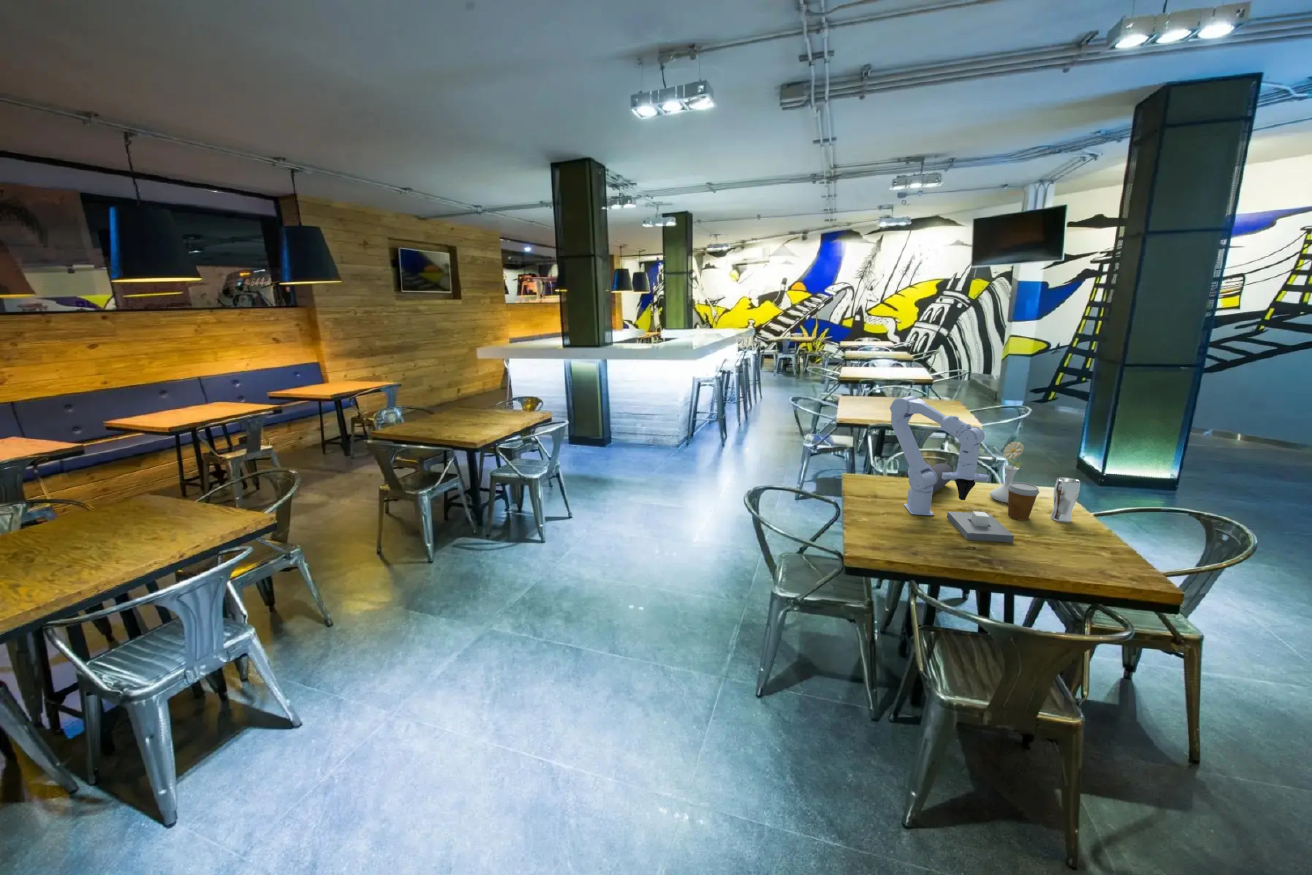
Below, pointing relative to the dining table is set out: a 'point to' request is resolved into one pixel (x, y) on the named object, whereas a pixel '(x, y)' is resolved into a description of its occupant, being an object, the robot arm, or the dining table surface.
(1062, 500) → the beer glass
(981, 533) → the socket plate
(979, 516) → the plug block
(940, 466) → the bluetooth speaker
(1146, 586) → the dining table surface
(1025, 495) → the disposable coffee cup
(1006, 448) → the flower in vase
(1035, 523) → the dining table surface
